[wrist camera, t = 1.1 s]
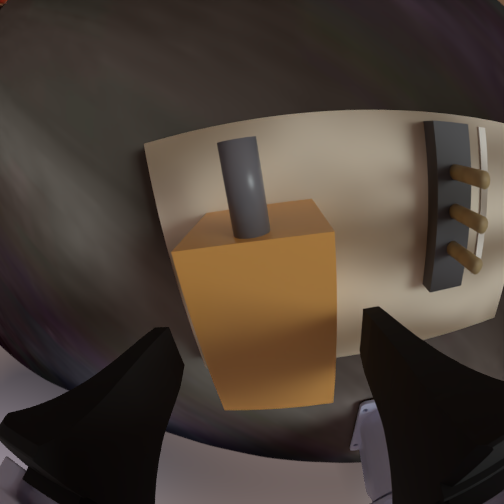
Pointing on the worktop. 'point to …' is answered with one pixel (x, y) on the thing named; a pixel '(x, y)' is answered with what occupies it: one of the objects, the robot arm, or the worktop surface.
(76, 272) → the worktop surface
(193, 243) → the socket block
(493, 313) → the board
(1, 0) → the medicine box
